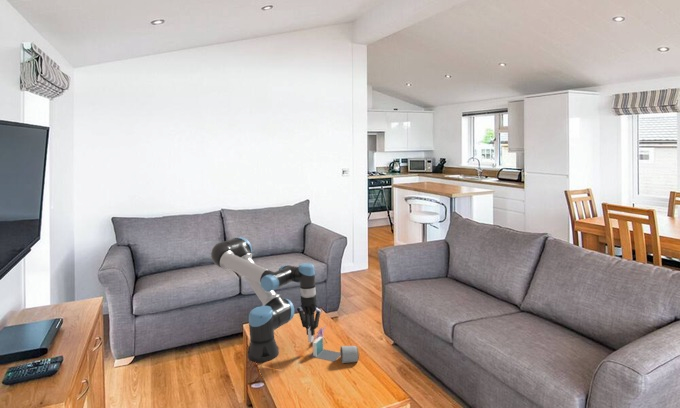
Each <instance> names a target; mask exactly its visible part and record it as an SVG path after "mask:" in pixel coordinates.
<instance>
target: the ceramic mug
mask: <svg viewBox="0 0 680 408" xmlns="http://www.w3.org/2000/svg"><path fill="white" fill-rule="evenodd" d="M339 351H340V361H341V364H349V363H356V362H358V361H360V350H359V347H358V346H356V345H342V346H340V349H339Z"/></svg>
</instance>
